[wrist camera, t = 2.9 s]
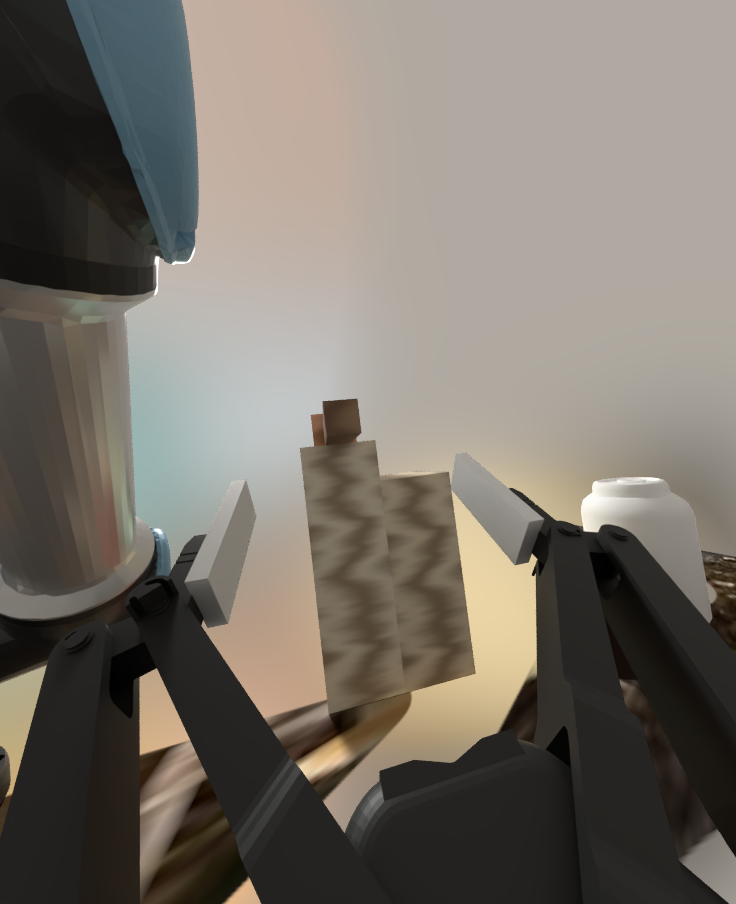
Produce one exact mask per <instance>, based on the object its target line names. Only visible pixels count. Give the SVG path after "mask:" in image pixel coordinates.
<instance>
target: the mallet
mask: <svg viewBox="0 0 736 904" xmlns="http://www.w3.org/2000/svg"><path fill="white" fill-rule="evenodd" d="M311 420H312V430H313V438H314V447H315V446H324V445H334V444H343V443H353V442H357V441H356V437H357V436H358V435H359V434H360V433H361V426H360V418H359V409H358V401H357V399H347V400H335V401H323V414H316V415H311Z"/></svg>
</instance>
